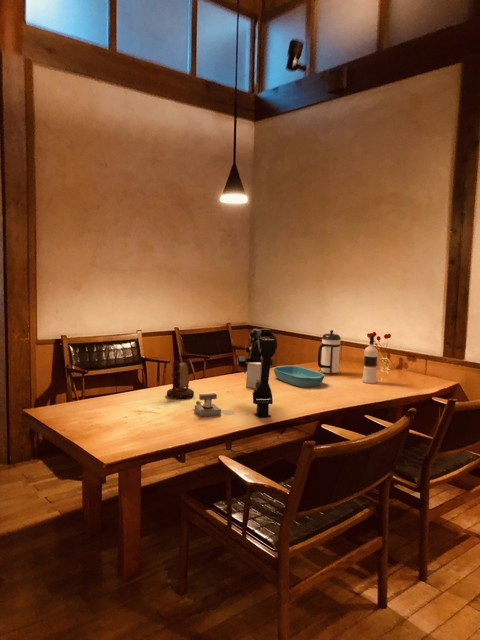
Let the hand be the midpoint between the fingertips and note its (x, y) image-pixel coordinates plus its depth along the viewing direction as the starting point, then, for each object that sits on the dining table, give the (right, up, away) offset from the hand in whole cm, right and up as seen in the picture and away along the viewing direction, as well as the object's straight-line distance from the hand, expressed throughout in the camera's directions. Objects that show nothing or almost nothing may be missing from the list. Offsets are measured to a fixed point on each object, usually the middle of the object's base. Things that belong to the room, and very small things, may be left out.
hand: (253, 372), depth 281 cm
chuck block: (-25, -17, -25) cm, 39 cm away
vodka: (+75, -12, +51) cm, 92 cm away
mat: (-13, -17, -27) cm, 35 cm away
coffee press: (+53, -8, +74) cm, 91 cm away
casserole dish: (+30, -11, +48) cm, 57 cm away
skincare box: (+1, -12, +29) cm, 32 cm away
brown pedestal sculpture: (-40, -13, +3) cm, 42 cm away
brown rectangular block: (-23, -17, -30) cm, 41 cm away
